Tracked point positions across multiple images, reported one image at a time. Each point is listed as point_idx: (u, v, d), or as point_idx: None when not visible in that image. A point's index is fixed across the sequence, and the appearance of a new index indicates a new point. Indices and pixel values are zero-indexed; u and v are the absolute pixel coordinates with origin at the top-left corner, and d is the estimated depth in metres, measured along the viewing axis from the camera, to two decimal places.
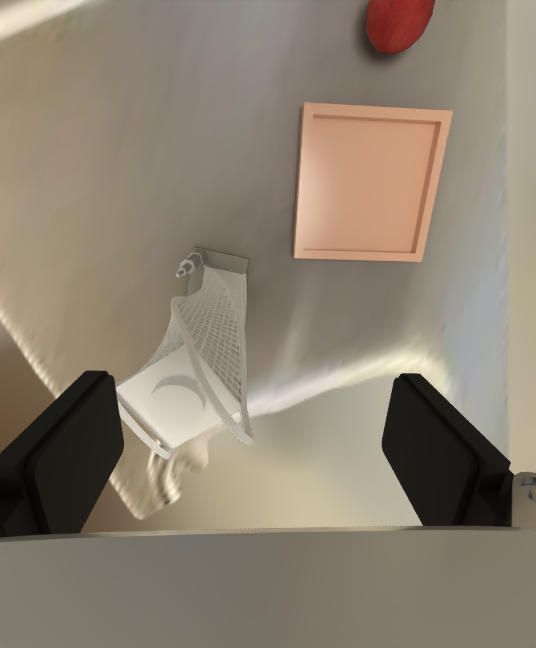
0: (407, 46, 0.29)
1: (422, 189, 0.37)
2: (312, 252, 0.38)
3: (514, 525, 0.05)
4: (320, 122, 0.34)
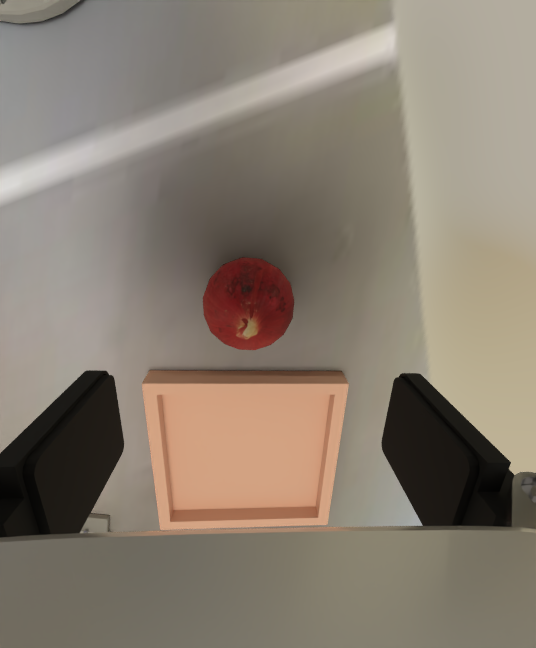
0: None
1: (322, 448, 0.28)
2: (183, 523, 0.29)
3: (514, 525, 0.05)
4: None
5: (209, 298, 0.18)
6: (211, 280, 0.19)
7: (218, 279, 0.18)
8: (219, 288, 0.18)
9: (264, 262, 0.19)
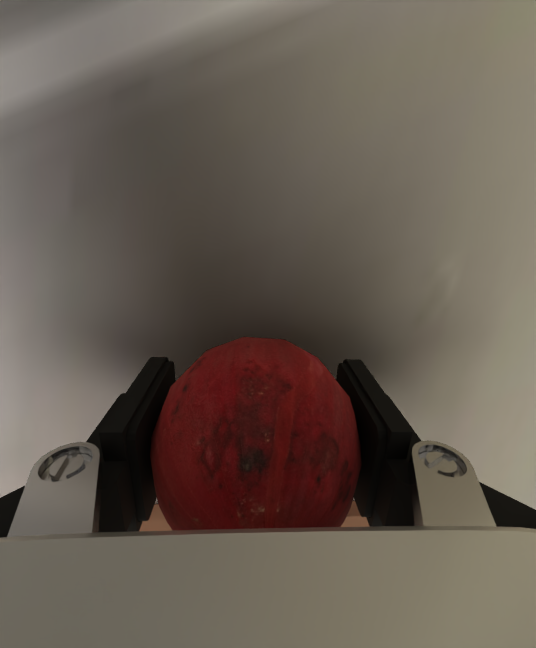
0: None
1: None
2: None
3: (421, 497, 0.06)
4: None
5: (159, 462, 0.07)
6: (168, 403, 0.08)
7: (182, 412, 0.07)
8: (182, 441, 0.07)
9: (295, 359, 0.08)
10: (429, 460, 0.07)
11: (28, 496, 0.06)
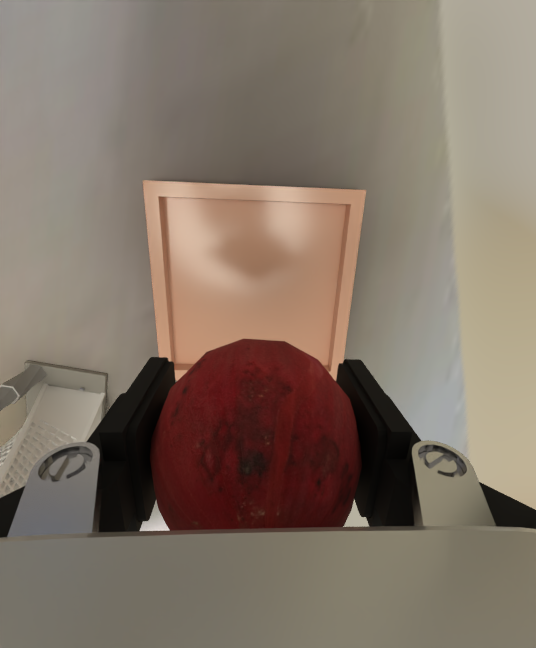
0: None
1: (336, 287, 0.26)
2: (185, 372, 0.27)
3: (421, 497, 0.06)
4: (177, 203, 0.23)
5: (159, 464, 0.07)
6: (168, 405, 0.08)
7: (182, 414, 0.07)
8: (181, 443, 0.07)
9: (295, 361, 0.08)
10: (429, 460, 0.07)
11: (28, 496, 0.06)
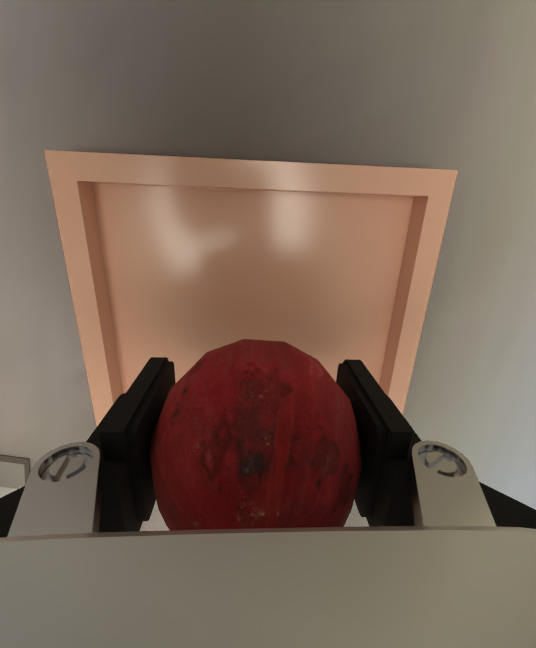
0: None
1: (388, 333, 0.16)
2: None
3: (421, 497, 0.06)
4: (119, 195, 0.13)
5: (159, 465, 0.07)
6: (168, 406, 0.08)
7: (182, 415, 0.07)
8: (181, 444, 0.07)
9: (295, 361, 0.08)
10: (429, 460, 0.07)
11: (28, 496, 0.06)
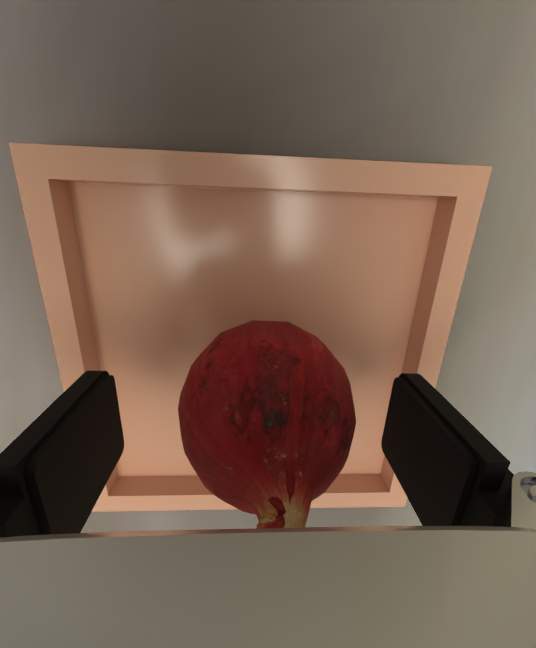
0: None
1: (405, 351, 0.14)
2: (133, 499, 0.15)
3: (514, 525, 0.05)
4: (100, 195, 0.12)
5: (192, 426, 0.08)
6: (194, 379, 0.09)
7: (209, 385, 0.08)
8: (211, 408, 0.08)
9: (300, 337, 0.09)
10: (533, 493, 0.06)
11: None
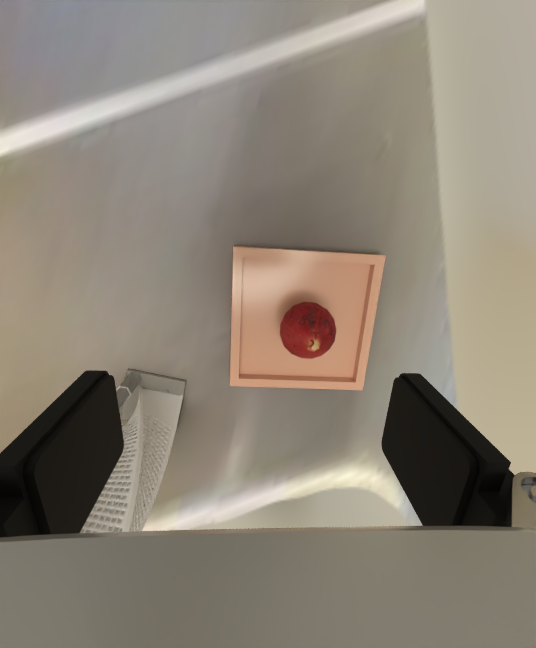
0: None
1: (361, 320, 0.36)
2: (248, 380, 0.36)
3: (514, 525, 0.05)
4: (253, 260, 0.33)
5: (287, 327, 0.30)
6: (287, 316, 0.31)
7: (293, 316, 0.30)
8: (294, 321, 0.30)
9: (319, 305, 0.31)
10: (534, 493, 0.06)
11: None
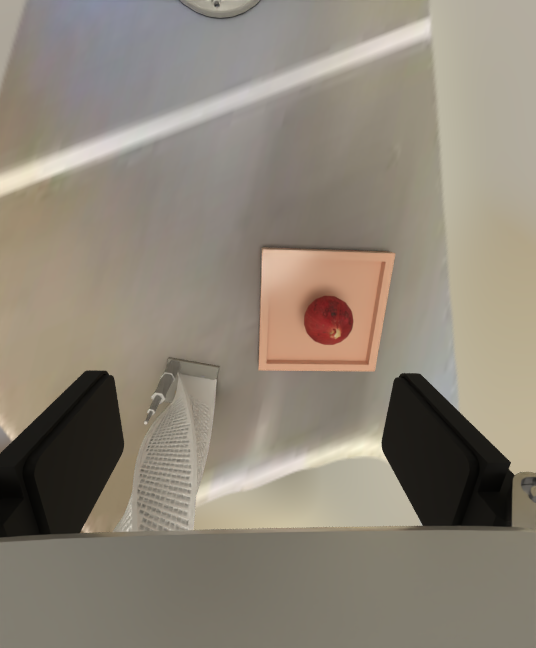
0: None
1: (373, 310, 0.41)
2: (275, 365, 0.42)
3: (515, 525, 0.05)
4: (278, 260, 0.38)
5: (312, 318, 0.35)
6: (311, 309, 0.36)
7: (316, 309, 0.35)
8: (318, 313, 0.35)
9: (338, 299, 0.36)
10: (534, 493, 0.06)
11: None
